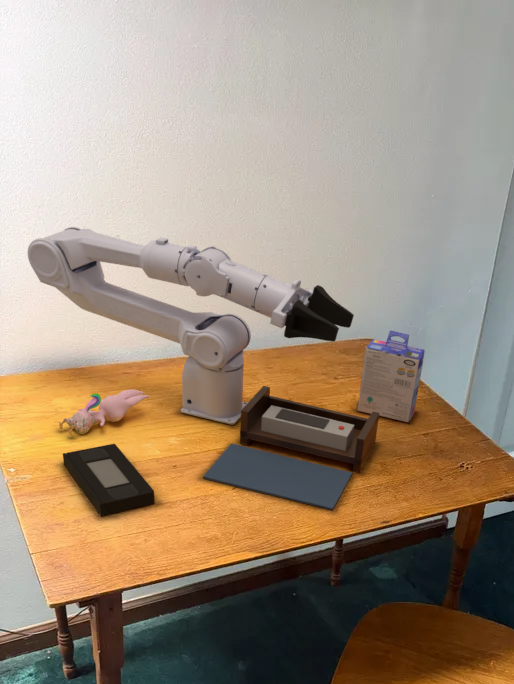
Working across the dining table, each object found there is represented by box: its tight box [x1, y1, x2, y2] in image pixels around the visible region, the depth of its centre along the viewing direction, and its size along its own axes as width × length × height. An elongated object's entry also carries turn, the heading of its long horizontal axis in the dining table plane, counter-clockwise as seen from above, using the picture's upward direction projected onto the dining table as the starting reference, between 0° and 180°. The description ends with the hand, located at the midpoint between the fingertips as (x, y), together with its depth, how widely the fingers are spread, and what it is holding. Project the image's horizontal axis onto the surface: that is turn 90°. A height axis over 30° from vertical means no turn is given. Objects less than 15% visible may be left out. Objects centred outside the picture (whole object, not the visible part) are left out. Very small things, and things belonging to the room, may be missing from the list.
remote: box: [261, 405, 354, 451], centre depth 125 cm, size 14×4×3 cm, turn 78°
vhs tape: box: [62, 443, 156, 517], centre depth 111 cm, size 8×14×2 cm, turn 37°
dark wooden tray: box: [239, 385, 380, 474], centre depth 127 cm, size 20×10×6 cm, turn 78°
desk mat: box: [202, 442, 353, 511], centre depth 120 cm, size 20×11×1 cm, turn 78°
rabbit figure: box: [58, 388, 150, 439], centre depth 123 cm, size 6×6×15 cm
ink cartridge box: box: [356, 330, 426, 423], centre depth 139 cm, size 10×6×14 cm, turn 78°
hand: (344, 327), depth 120 cm, fingers open, 7 cm apart
